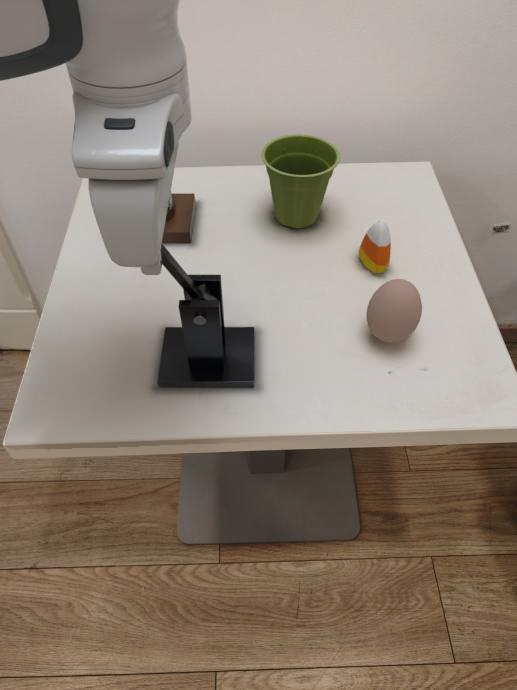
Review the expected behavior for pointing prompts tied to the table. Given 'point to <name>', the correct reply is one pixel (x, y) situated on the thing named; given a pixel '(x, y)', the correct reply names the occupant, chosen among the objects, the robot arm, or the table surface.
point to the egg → (394, 310)
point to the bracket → (206, 345)
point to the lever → (185, 278)
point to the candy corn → (376, 248)
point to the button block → (180, 219)
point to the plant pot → (299, 176)
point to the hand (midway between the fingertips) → (158, 237)
